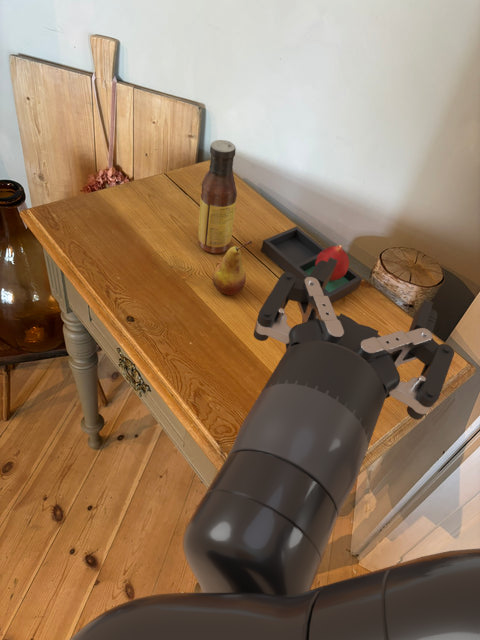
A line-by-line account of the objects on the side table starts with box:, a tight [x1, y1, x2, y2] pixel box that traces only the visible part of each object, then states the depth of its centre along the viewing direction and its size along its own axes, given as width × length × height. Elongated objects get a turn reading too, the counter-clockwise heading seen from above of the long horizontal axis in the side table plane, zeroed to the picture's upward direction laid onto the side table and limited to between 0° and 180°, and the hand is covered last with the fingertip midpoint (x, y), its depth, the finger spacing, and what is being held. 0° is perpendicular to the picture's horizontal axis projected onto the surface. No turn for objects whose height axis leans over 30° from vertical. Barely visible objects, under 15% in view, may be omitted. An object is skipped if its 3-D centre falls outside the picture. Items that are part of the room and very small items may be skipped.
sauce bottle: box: [197, 139, 238, 255], centre depth 80 cm, size 6×6×20 cm
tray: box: [260, 226, 364, 305], centre depth 86 cm, size 9×17×3 cm, turn 40°
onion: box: [315, 244, 350, 281], centre depth 82 cm, size 6×6×8 cm
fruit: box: [212, 240, 253, 296], centre depth 76 cm, size 6×6×12 cm
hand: (376, 286), depth 40 cm, fingers open, 8 cm apart
